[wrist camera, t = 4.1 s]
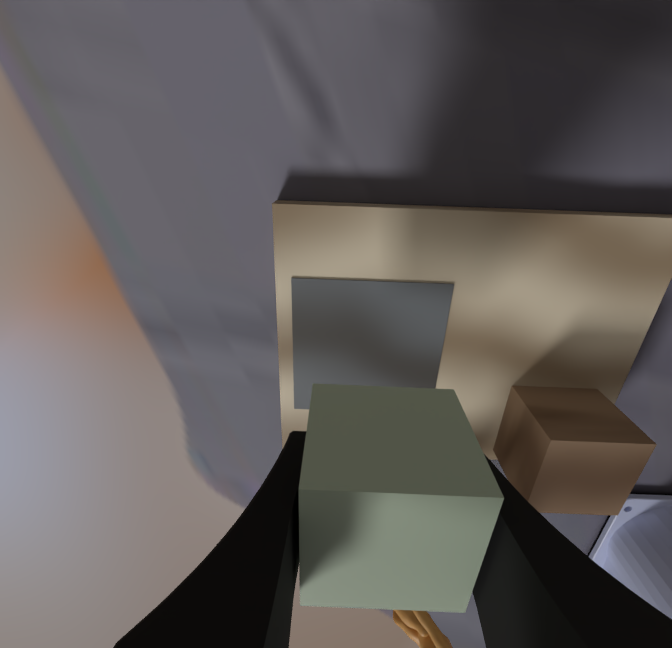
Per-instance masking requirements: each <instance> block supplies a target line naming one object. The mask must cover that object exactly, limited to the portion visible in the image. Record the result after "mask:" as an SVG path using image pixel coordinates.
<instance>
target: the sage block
mask: <svg viewBox="0 0 672 648" xmlns="http://www.w3.org/2000/svg"><path fill="white" fill-rule="evenodd" d="M503 500H504V496H503V494H502V492H501V490H500V488H499V486H498V484H497V481H496V479H495V477H494V475H493V473H492V471H491V468H490V466H489V464H488V462H487V460H486V458H485V455H484V453H483V451H482V449H481V447H480V445H479V443H478V440H477V438H476V436H475V434H474V432H473V430H472V427H471V425H470V423H469V421H468V419H467V417H466V414H465V412H464V410H463V408H462V406H461V404H460V402H459V399H458V397H457V395H456V393H455V391H454V389H433V388H409V387H385V386H361V385H337V384H313V386H312V393H311V401H310V408H309V416H308V423H307V430H306V438H305V445H304V453H303V460H302V467H301V475H300V482H299V563H300V564H299V566H300V605H301V606H321V607H345V608H369V609H391V610H414V611H437V612H460V613H465V611H466V608H467V605H468V603H469V600H470V597H471V594H472V591H473V588H474V585H475V582H476V579H477V576H478V573H479V570H480V567H481V565H482V562H483V559H484V556H485V553H486V550H487V547H488V544H489V541H490V538H491V535H492V532H493V529H494V526H495V524H496V521H497V518H498V515H499V512H500V509H501V506H502V503H503Z"/></svg>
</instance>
